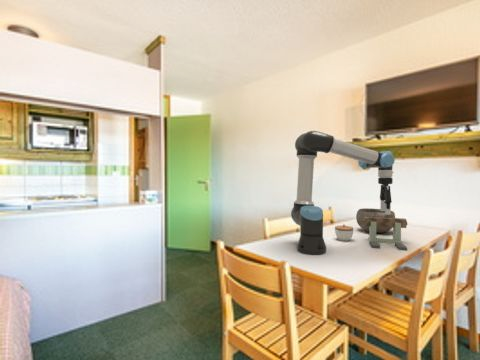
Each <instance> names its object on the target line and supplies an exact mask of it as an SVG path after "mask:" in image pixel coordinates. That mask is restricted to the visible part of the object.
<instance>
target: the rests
mask: <svg viewBox="0 0 480 360" xmlns="http://www.w3.org/2000/svg"><path fill="white" fill-rule="evenodd" d="M368 242H369V243H368V245H369V246H370V247H371V249H381V245H380V244H379V242H375V241H369V240H368ZM394 246H395V248H396V249H397V250H398V251H408V247H407V246H406V245H405V244H404V243H403V242H402V243H394Z"/></svg>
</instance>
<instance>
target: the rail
mask: <svg viewBox="0 0 480 360" xmlns="http://www.w3.org/2000/svg"><path fill="white" fill-rule="evenodd" d="M371 221H372V222H376V227H395V223H401V229H407V226H408V221H407V219H406V218H401V217H400V218H399V217H395V218H380V217H364V220H363V223H364V225H365V226H371Z"/></svg>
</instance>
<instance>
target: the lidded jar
mask: <svg viewBox="0 0 480 360" xmlns="http://www.w3.org/2000/svg"><path fill="white" fill-rule="evenodd" d="M334 233H335V236H336V238H337V239H338V240H339V241H343V242H348V241H350V240H351V239H352V238H353V235H354V227H353V226H351V225H350V226H349V225H346V224H343V225H335V226H334Z"/></svg>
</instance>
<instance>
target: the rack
mask: <svg viewBox="0 0 480 360" xmlns="http://www.w3.org/2000/svg"><path fill="white" fill-rule="evenodd" d="M368 232H369V233H368V234H369V235H368V236H369V237H368V238H367V239H368V242H369V241H375V242H378V243H387V244H390V243H391V244H395V243H403V241H402V228H401V223H395V227H393V228H392V238H384V237H383V238H382V237H377V232H376V222H372V221H371V226H369V231H368Z"/></svg>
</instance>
